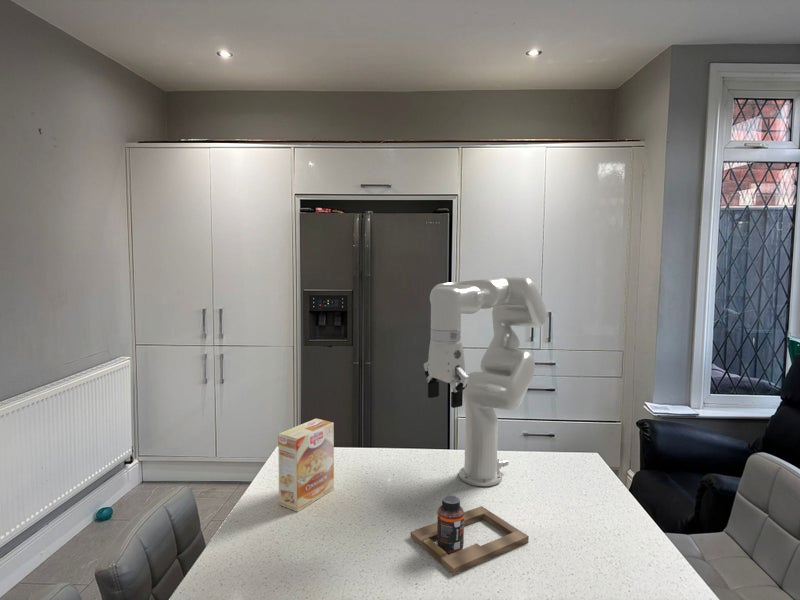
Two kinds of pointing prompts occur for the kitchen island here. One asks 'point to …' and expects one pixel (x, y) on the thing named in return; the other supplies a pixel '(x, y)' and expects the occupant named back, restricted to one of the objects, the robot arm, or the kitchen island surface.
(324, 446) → the coffeecake box
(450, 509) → the supplement bottle
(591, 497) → the kitchen island surface
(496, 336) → the robot arm
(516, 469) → the kitchen island surface
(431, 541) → the wooden frame
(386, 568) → the kitchen island surface
